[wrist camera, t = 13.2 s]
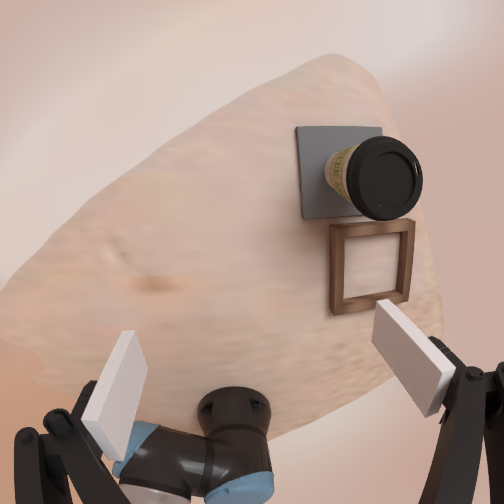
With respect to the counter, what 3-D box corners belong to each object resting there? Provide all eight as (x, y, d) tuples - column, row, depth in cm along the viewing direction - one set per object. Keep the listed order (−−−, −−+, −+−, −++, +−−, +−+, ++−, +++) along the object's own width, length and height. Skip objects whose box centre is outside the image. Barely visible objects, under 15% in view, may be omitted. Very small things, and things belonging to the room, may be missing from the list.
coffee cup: (301, 154, 42) (338, 154, 28) (357, 130, 42) (410, 123, 28) (327, 213, 45) (370, 239, 31) (379, 187, 45) (435, 203, 31)
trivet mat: (302, 218, 46) (303, 219, 45) (296, 127, 42) (297, 126, 41) (381, 211, 47) (384, 212, 46) (378, 127, 43) (381, 127, 42)
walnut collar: (329, 308, 52) (334, 315, 49) (330, 225, 47) (335, 228, 45) (401, 295, 53) (408, 301, 50) (407, 218, 48) (415, 221, 46)
